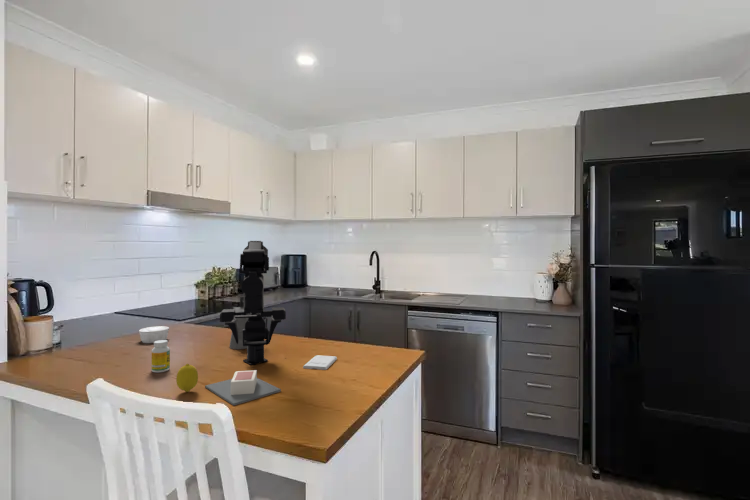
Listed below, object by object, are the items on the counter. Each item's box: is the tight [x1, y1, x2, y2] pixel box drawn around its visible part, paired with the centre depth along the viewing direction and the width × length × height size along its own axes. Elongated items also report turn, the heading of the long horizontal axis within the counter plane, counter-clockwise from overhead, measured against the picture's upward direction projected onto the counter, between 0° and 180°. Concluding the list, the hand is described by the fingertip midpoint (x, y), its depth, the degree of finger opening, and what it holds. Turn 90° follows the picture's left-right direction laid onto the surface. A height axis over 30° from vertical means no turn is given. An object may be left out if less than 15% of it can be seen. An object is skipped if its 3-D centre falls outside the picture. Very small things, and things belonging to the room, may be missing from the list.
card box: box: [231, 369, 258, 395], centre depth 111 cm, size 6×9×4 cm, turn 12°
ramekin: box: [138, 325, 170, 344], centre depth 168 cm, size 11×11×5 cm
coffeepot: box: [229, 302, 250, 350], centre depth 160 cm, size 15×9×18 cm, turn 44°
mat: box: [204, 377, 282, 406], centre depth 112 cm, size 18×14×1 cm
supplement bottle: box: [150, 339, 171, 374], centre depth 129 cm, size 5×5×10 cm
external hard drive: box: [302, 354, 338, 371], centre depth 137 cm, size 2×8×12 cm
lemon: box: [175, 363, 199, 393], centre depth 110 cm, size 6×6×8 cm
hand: (253, 342), depth 118 cm, fingers open, 9 cm apart
